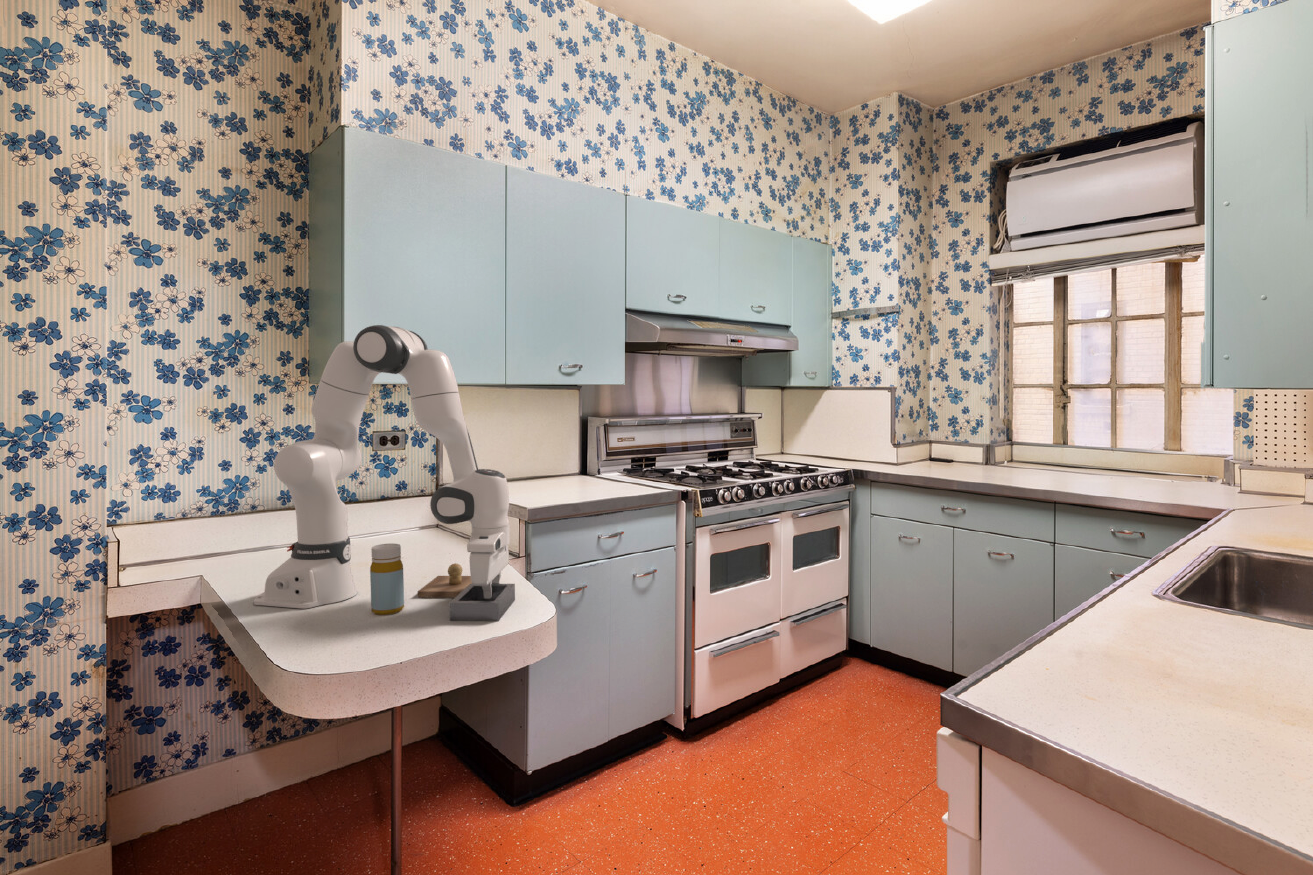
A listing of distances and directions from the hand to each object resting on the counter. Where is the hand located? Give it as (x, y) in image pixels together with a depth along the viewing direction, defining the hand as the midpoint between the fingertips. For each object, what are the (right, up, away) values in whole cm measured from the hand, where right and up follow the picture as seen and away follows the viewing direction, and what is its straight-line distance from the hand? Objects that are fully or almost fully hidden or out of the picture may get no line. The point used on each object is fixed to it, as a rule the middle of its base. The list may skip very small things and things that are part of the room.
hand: (491, 593), depth 158 cm
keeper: (-12, -1, +10) cm, 15 cm away
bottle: (-22, -2, -7) cm, 23 cm away
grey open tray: (0, -2, -7) cm, 7 cm away
